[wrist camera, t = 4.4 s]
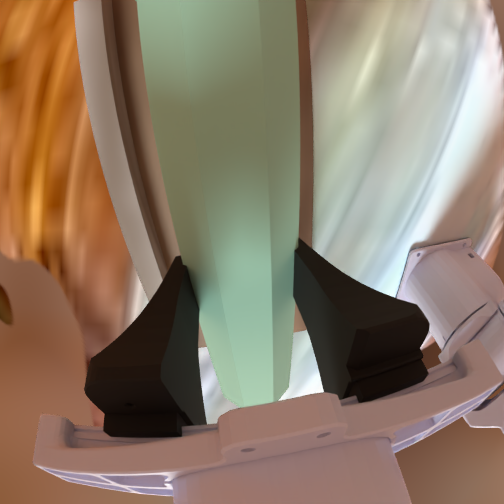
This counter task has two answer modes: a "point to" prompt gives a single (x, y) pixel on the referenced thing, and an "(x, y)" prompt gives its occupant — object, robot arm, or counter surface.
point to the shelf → (143, 140)
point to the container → (231, 174)
